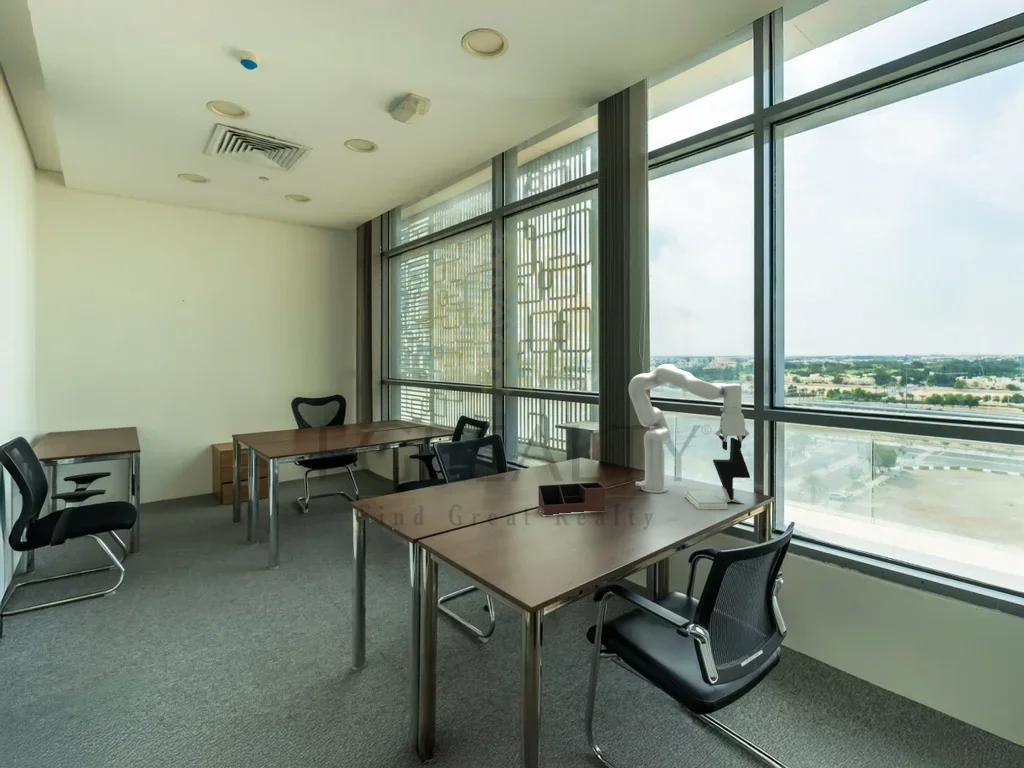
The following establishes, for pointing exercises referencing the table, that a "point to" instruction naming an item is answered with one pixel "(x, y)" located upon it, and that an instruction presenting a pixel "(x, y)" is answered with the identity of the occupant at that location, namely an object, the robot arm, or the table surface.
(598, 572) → the table surface
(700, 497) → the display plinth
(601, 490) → the desk organizer
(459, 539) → the table surface
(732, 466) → the award
